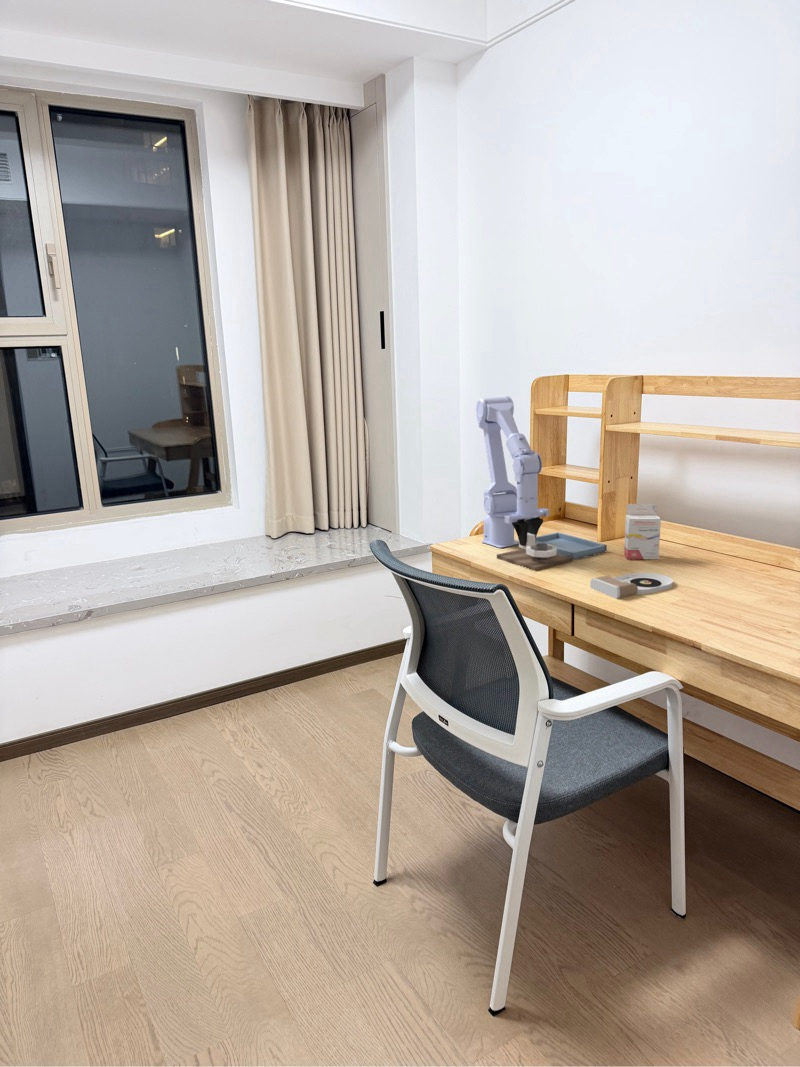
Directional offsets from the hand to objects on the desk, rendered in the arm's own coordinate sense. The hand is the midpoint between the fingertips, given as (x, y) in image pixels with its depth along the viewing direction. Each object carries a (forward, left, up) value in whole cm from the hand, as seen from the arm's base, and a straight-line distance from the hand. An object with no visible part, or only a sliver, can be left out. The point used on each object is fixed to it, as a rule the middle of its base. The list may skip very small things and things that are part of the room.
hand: (527, 544), depth 211 cm
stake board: (+3, 0, -4) cm, 5 cm away
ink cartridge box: (+20, +24, -4) cm, 32 cm away
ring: (+4, 0, -1) cm, 4 cm away
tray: (0, +14, -4) cm, 15 cm away
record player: (+36, +3, -5) cm, 36 cm away
